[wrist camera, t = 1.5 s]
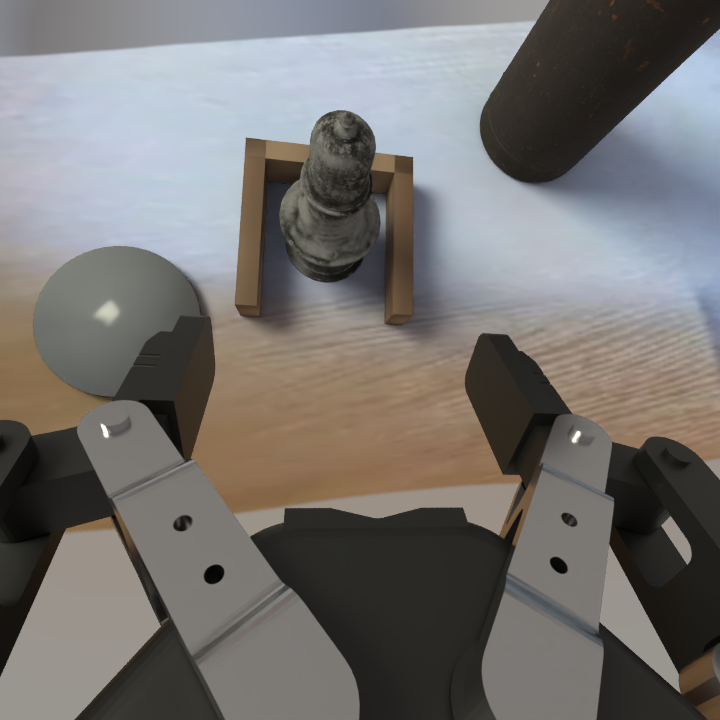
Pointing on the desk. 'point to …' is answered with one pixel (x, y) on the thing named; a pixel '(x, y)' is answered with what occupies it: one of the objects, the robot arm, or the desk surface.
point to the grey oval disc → (107, 314)
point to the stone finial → (333, 200)
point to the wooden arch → (285, 167)
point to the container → (586, 77)
